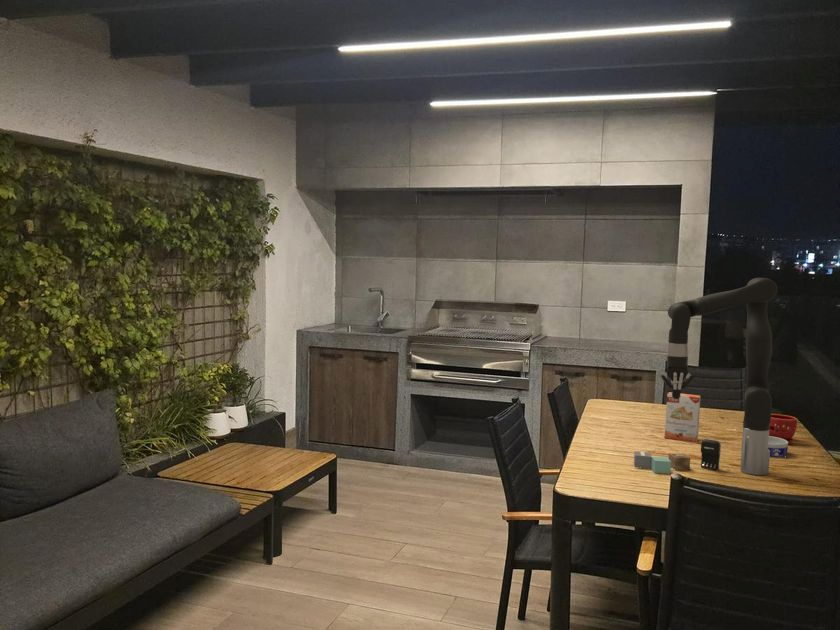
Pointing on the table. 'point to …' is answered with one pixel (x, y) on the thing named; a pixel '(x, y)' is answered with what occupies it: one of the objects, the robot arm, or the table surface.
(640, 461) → the stripe block
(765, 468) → the robot arm
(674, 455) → the dot block
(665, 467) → the plain block
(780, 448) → the dog bowl
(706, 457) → the battery
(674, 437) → the cracker box
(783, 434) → the plant pot
